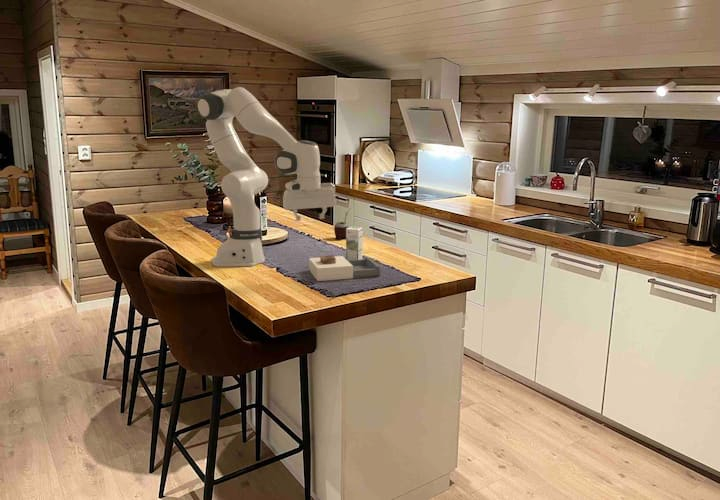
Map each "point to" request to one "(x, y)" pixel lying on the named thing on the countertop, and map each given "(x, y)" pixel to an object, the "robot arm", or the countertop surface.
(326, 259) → the walnut tile
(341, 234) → the mate gourd
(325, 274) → the cream square block
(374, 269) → the charcoal box
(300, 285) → the countertop surface
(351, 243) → the syrup box
